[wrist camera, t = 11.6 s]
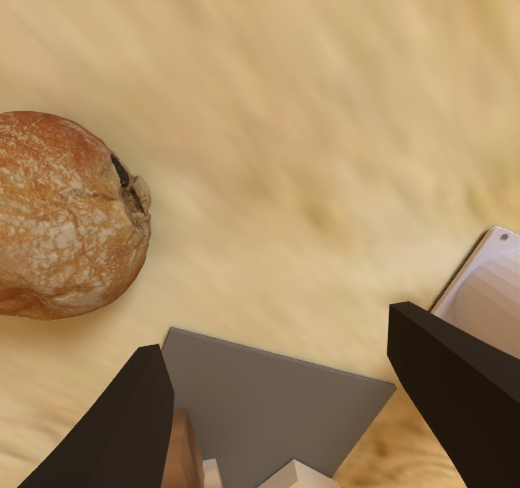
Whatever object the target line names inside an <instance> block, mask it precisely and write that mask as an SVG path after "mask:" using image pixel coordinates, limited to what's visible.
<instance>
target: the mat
mask: <svg viewBox="0 0 520 488" xmlns="http://www.w3.org/2000/svg"><path fill="white" fill-rule="evenodd" d="M162 355H163V358H164V362H165V365H166V368H167V371H168V374H169V377H170V380H171V383H172V386H173V389H174V392H175V394H174V410H175V409H180V408H186V407H187V411H188V414H189V417H190V420H191V424H192V427H193V430H194V433H195V436H196V440H197V443H198V446H199V449H200V452H201V456H202V459H203V461H204V460H209V459H216V463H217V466H218V470H219V473H220V477H221V480H222V484H223V487H224V488H257V487H259V486H260V485H261V484H262V483H264V482H265V481H266V480H268V479H269V478H270V477H271V476H273V475H274V474H275V473H277V472H278V471H279V470H280V469H282V468H283V467H284V466H286V465H287V464H288V463H289V462H291V461H292V460H293V459H294V460H296V461H298V462H300V463H302V464H304V465H306V466H308V467H310V468H312V469H313V470H315V471H317V472H319V473H321V474H323V475H325V476H327V477H329V478H331V477H332V476H333V474H334V473H335V472H336V470H337V469H338V467H339V466H340V465H341V463H342V462H343V461H344V459H345V458H346V457H347V455H348V454H349V453H350V451H351V450H352V449H353V447H354V446H355V445H356V443H357V442H358V440H359V439H360V438H361V436H362V435H363V434H364V432H365V431H366V430H367V428H368V427H369V426H370V424H371V423H372V422H373V420H374V419H375V417H376V416H377V415H378V413H379V412H380V411H381V409H382V408H383V407H384V405H385V404H386V403H387V401H388V400H389V399H390V397H391V396H392V395H393V393H394V392H395V390H396V389H397V388H396V386H395V385H394V384H390V383H387V382H383V381H379V380H375V379H371V378H367V377H363V376H359V375H356V374H352V373H348V372H344V371H340V370H336V369H332V368H328V367H325V366H321V365H317V364H313V363H309V362H305V361H301V360H297V359H293V358H290V357H286V356H282V355H278V354H274V353H270V352H266V351H262V350H259V349H255V348H251V347H247V346H243V345H239V344H235V343H231V342H228V341H224V340H220V339H216V338H212V337H208V336H204V335H200V334H196V333H193V332H189V331H185V330H181V329H177V328H173V327H171V328H170V331H169V333H168V336H167V339H166V341H165V344H164V346H163V349H162Z"/></svg>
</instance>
